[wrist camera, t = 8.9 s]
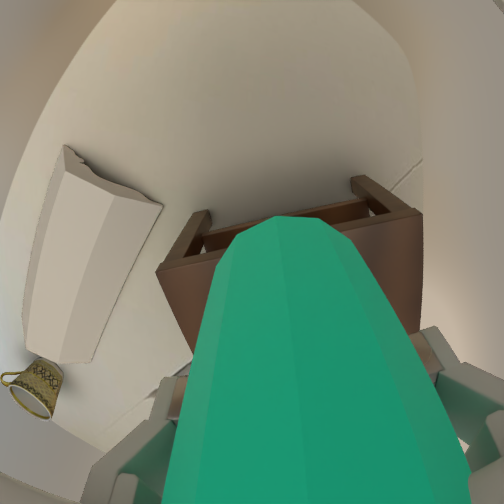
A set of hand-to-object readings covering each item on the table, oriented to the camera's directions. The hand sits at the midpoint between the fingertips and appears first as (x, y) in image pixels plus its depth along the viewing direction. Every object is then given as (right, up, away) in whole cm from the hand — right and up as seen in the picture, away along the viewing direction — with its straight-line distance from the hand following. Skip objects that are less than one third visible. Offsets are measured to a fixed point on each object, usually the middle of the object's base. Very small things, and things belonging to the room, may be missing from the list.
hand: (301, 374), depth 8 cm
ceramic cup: (-43, -19, +41) cm, 62 cm away
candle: (0, +2, +4) cm, 5 cm away
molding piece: (-27, +1, +31) cm, 41 cm away
